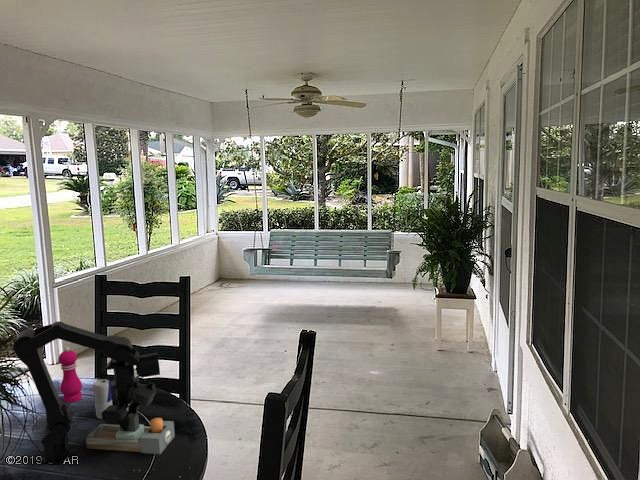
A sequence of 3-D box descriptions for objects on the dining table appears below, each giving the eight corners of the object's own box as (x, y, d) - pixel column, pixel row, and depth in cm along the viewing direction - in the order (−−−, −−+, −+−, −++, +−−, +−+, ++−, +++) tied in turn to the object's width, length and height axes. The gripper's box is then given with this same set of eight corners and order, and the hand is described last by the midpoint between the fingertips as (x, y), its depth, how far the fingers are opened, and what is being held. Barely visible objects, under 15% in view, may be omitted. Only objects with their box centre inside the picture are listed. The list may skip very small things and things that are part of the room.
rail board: (142, 452, 156) (141, 441, 156) (87, 448, 159) (85, 437, 159) (156, 435, 165) (155, 425, 164) (103, 432, 168) (102, 422, 167)
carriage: (134, 443, 158) (132, 421, 157) (116, 441, 159) (114, 419, 158) (144, 432, 164) (142, 411, 162) (126, 431, 165) (124, 410, 163)
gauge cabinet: (161, 454, 155) (160, 438, 154) (141, 453, 156) (139, 437, 155) (176, 436, 164) (175, 421, 163) (156, 435, 165) (155, 420, 165)
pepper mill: (57, 402, 190) (50, 350, 186) (71, 393, 196) (65, 342, 193) (73, 404, 187) (67, 351, 184) (87, 395, 194) (81, 344, 191)
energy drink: (116, 411, 181) (112, 379, 179) (108, 419, 176) (104, 386, 174) (101, 411, 182) (97, 378, 180) (93, 419, 177) (89, 385, 175)
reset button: (160, 436, 157) (159, 424, 157) (149, 435, 158) (147, 423, 157) (165, 430, 161) (164, 418, 160) (154, 429, 161) (153, 417, 161)
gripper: (133, 395, 148) (138, 446, 150) (163, 368, 166) (167, 413, 168) (97, 393, 149) (103, 443, 152) (131, 366, 168) (135, 412, 170)
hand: (129, 427), depth 161 cm, fingers open, 4 cm apart
